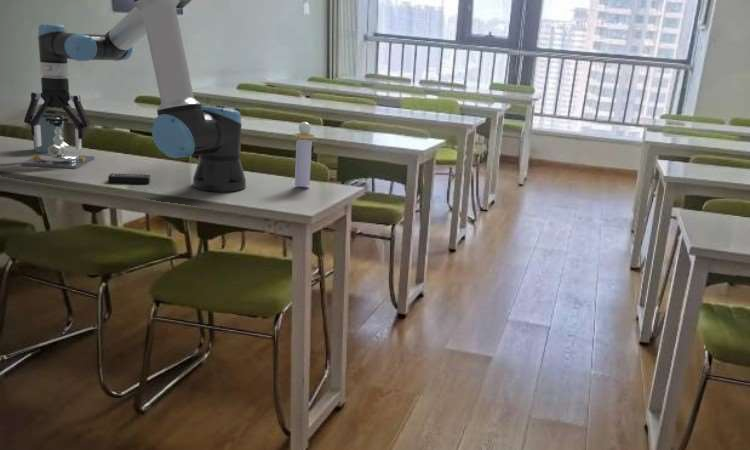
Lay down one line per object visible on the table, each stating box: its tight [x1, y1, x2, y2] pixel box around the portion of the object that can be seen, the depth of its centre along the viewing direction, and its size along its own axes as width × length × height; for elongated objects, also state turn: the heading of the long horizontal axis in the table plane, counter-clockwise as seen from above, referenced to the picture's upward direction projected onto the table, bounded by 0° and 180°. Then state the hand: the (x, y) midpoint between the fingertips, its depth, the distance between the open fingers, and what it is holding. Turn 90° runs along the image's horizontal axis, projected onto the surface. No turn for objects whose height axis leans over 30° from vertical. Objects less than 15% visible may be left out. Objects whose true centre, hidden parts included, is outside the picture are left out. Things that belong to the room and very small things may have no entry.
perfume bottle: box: [294, 121, 315, 188], centre depth 196 cm, size 6×6×20 cm
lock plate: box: [21, 151, 95, 170], centre depth 206 cm, size 16×16×2 cm
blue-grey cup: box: [32, 112, 65, 154], centre depth 220 cm, size 10×10×12 cm
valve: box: [46, 116, 70, 157], centre depth 204 cm, size 7×7×12 cm
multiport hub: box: [107, 173, 151, 185], centre depth 188 cm, size 4×11×2 cm, turn 103°
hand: (58, 147), depth 205 cm, fingers open, 11 cm apart
